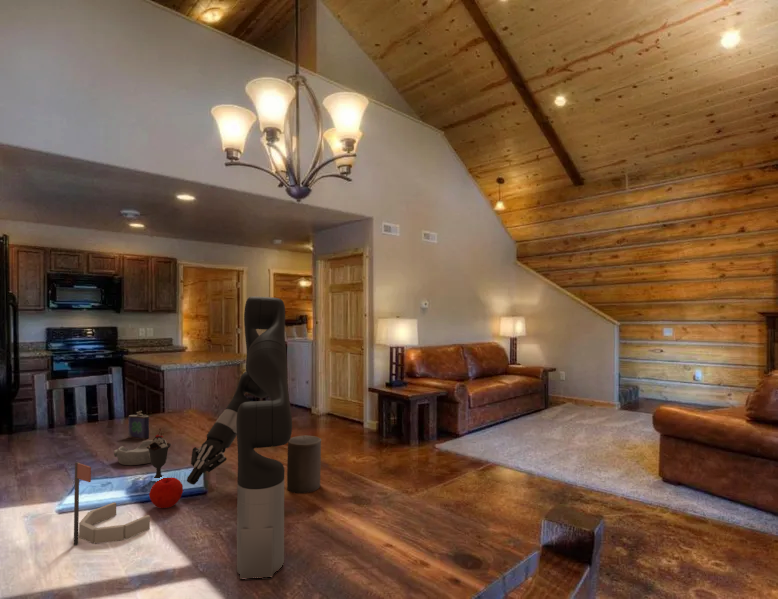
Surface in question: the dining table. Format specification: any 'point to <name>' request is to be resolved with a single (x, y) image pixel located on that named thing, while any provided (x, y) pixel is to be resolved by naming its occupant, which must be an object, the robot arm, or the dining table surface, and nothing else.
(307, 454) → the pillar candle
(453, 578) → the dining table surface
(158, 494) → the apple
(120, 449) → the dish
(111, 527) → the cup
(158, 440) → the sundae
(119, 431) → the dining table surface
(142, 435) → the flask
